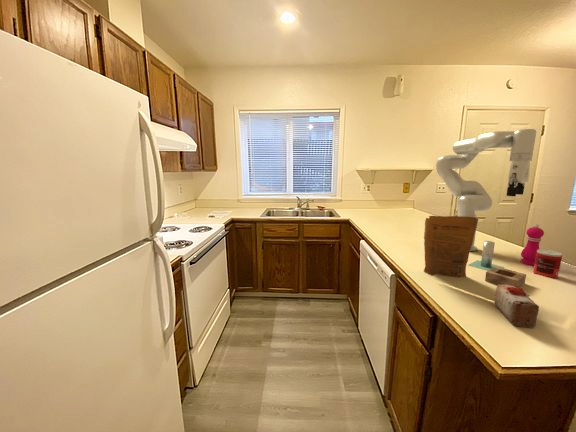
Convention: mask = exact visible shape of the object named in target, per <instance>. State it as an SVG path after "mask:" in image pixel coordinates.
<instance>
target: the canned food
mask: <svg viewBox="0 0 576 432" xmlns="http://www.w3.org/2000/svg"><path fill="white" fill-rule="evenodd" d="M562 259H563V253H561V252H560V251H556V250H552V249H544V248H542V249H541V248H539V250H537V253H536V259H535V264H534V266H533V271H532V272H533V274H534V275H537V276H542V277H546V278H549V279H554V280H556V279H558V277H559V273H560V268H561V264H562Z"/></svg>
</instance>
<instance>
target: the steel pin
mask: <svg viewBox="0 0 576 432" xmlns="http://www.w3.org/2000/svg"><path fill="white" fill-rule="evenodd" d="M495 244H496V243H495V242H494V241H491V240H484V241H483V245H482V253H481V259H480V261H481V266H482V267H486V268H491V265H492V264H493V258H494V249H495Z"/></svg>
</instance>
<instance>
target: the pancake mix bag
mask: <svg viewBox="0 0 576 432" xmlns="http://www.w3.org/2000/svg"><path fill="white" fill-rule="evenodd" d="M478 222H479V218H478V217H477V218H475V217H463V216H457V215H455V216H454V215H453V216H452V215H451V216H448V215H447V216H441V215H429V216H428V217H426V218H425V220H424V231H423V232H424V234H423V239H424V241H423V244H424V246H423V247H424V269H423V272H424V273H426V274H428V275H430V274H431V276H435V275H439V276H446V277H452V278H466V277H467V272H466V268H467V265H468V262H469V256H470V252H471V251H470V249H471V246H472V243H473V239H474V234H475V231H476V232H477V227H478ZM475 235H476V234H475Z"/></svg>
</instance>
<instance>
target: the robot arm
mask: <svg viewBox="0 0 576 432" xmlns="http://www.w3.org/2000/svg"><path fill="white" fill-rule="evenodd" d="M536 138H537V130H536V129H535V128H523V129H518V130H515V131H514V130H513V131H512V130H511V131H509V130H507V131H505V130H504V131H503V130H502V131H501V130H499V131H492V132H486V133H482V134H479V135H478V136H474V137H469V138H464V139H461V140H457V141H456V142H455V143H454V144H453V145H452V151H453V153H455V154H448V155H442V156H440V157H439V158H438V159H437V160H436V164H435V167H436V172H437V174H438V175H439V177H440V178H441V179H442V181H443V182H444V183H445V185H446V186H447V188H448V189H449V191H450V192H451V194H452V196H453V197H457V198H458V197H459V198H458V199H457V200H456V209H457V210H456V213H457V215H456V216H463V217H475V218H478V217H477V214H476V212H484V211H488V210H490V209H491V208H492V206H493V200H492V198H491V196H490V194H489V193H488V192H487V191H486V189H485V188H484V187H483V185H482V184H481V183H480V182H478V181H477V180H464V178H462V176H461V175H460V174H459V173H458V172H457V171H456V170H459V169H464V168H466V167H467V166H469V165H470V163H471V162H472V161H473V160H474V159H475V158H476V157H477V156H478V154H479V153H482V152H484V151H485V150H488V149H498V148H499V149H500V148H501V149H506V148H511V149H510V154H509V162H510V166H509V172H508V179H507V183H508V184H507V189H506V197H516V196H517V195H520V196H521V195H524V191H525V184H526V183H527V182H528V181H529V177H530V169H531V168H530V166H531V165H530V164H531V163H530V162H532V160H533V155H534V150H535V143H536ZM476 232H477V230H476V231H475V234H474V239H473V243H472V246H471V249H470V251H469V252H476V251H477V250H478V247H476V245H475V241H476Z"/></svg>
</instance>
